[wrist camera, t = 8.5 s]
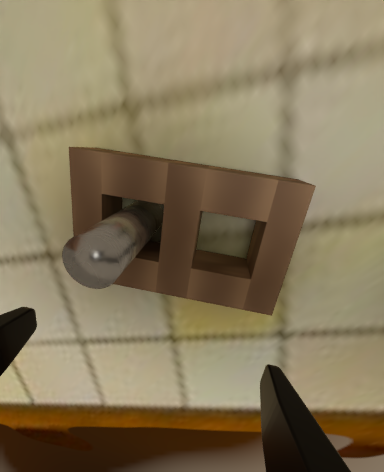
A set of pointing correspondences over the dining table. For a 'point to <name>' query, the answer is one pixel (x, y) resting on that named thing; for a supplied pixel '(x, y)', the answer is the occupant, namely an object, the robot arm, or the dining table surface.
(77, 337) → the dining table surface
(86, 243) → the peg
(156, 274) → the socket block
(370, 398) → the dining table surface
